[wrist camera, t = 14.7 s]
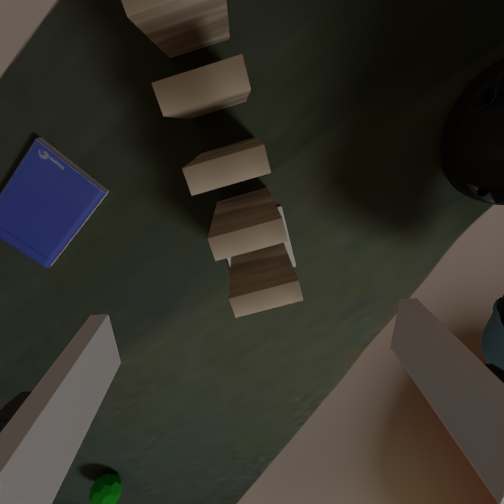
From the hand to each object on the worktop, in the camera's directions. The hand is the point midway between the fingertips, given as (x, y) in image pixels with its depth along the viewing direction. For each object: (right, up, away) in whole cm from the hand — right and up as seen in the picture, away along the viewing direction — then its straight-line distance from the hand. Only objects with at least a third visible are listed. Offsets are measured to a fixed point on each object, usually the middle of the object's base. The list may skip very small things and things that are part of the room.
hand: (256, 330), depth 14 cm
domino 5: (0, +4, +23) cm, 23 cm away
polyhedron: (-25, -36, +39) cm, 59 cm away
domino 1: (-5, +24, +14) cm, 28 cm away
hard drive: (-23, +9, +21) cm, 32 cm away
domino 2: (-4, +19, +16) cm, 25 cm away
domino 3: (-3, +14, +19) cm, 23 cm away
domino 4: (-1, +9, +21) cm, 23 cm away
